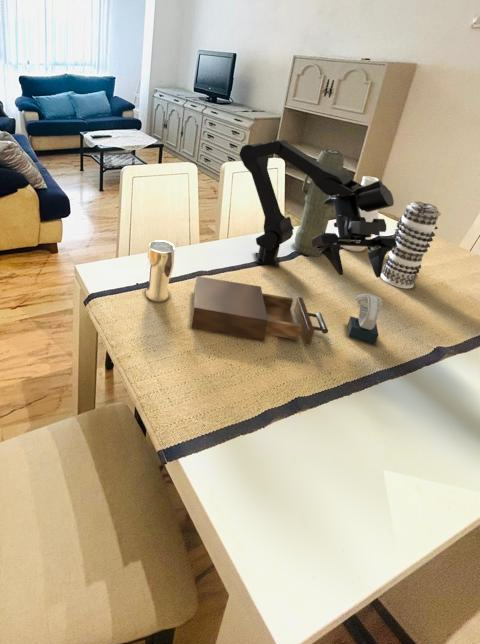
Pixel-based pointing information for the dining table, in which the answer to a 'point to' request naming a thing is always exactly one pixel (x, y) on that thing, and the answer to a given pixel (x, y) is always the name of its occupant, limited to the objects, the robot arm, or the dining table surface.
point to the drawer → (290, 318)
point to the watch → (365, 319)
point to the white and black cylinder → (410, 244)
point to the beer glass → (159, 269)
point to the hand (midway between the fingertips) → (359, 276)
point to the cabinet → (229, 308)
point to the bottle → (364, 214)
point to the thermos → (316, 206)
